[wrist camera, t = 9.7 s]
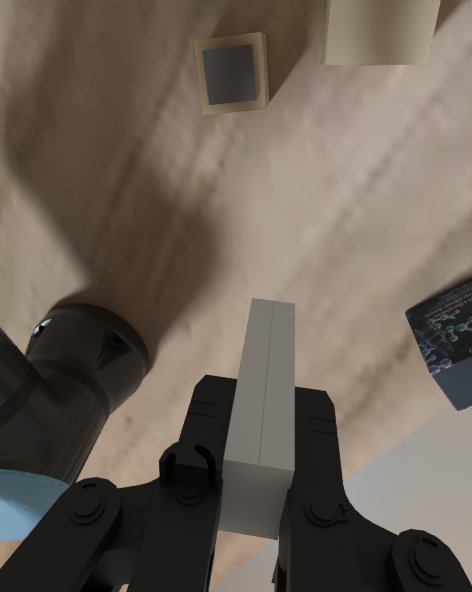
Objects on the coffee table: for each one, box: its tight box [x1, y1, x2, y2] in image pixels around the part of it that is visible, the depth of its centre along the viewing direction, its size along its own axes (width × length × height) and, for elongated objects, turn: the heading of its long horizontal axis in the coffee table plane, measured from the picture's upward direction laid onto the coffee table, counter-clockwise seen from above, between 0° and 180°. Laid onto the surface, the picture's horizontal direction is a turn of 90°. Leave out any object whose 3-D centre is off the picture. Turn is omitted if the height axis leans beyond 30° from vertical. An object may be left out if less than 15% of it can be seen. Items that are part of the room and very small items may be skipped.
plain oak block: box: [320, 0, 441, 65], centre depth 29 cm, size 7×7×6 cm
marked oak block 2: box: [193, 32, 269, 115], centre depth 32 cm, size 5×5×6 cm
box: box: [405, 279, 472, 411], centre depth 39 cm, size 8×6×11 cm
